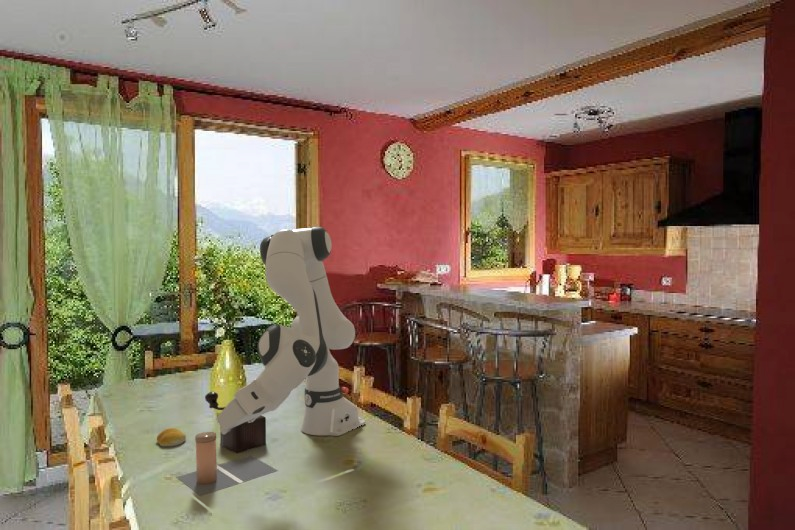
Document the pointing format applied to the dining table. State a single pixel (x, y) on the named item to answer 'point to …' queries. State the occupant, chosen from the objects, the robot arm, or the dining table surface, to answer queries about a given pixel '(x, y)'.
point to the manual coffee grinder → (240, 431)
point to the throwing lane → (229, 475)
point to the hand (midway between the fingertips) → (236, 425)
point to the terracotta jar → (206, 457)
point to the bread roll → (171, 437)
